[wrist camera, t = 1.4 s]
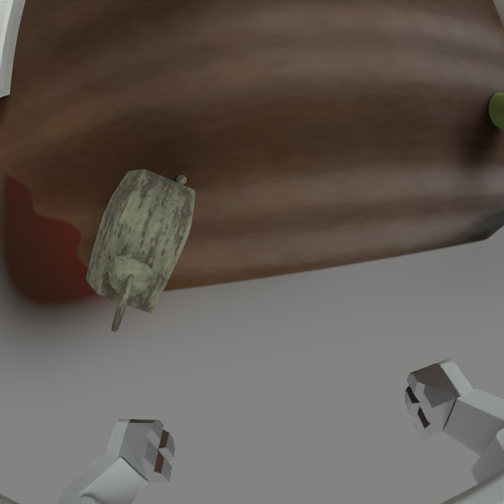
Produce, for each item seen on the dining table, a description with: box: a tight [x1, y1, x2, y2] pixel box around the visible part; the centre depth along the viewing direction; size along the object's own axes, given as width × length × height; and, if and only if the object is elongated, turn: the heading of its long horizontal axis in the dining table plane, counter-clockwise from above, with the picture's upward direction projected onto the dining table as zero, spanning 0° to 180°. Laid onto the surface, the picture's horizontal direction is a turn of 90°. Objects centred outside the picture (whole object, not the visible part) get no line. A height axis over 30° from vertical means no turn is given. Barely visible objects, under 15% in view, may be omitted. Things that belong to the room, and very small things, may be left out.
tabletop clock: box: [86, 169, 195, 332], centre depth 36 cm, size 14×9×25 cm, turn 150°
